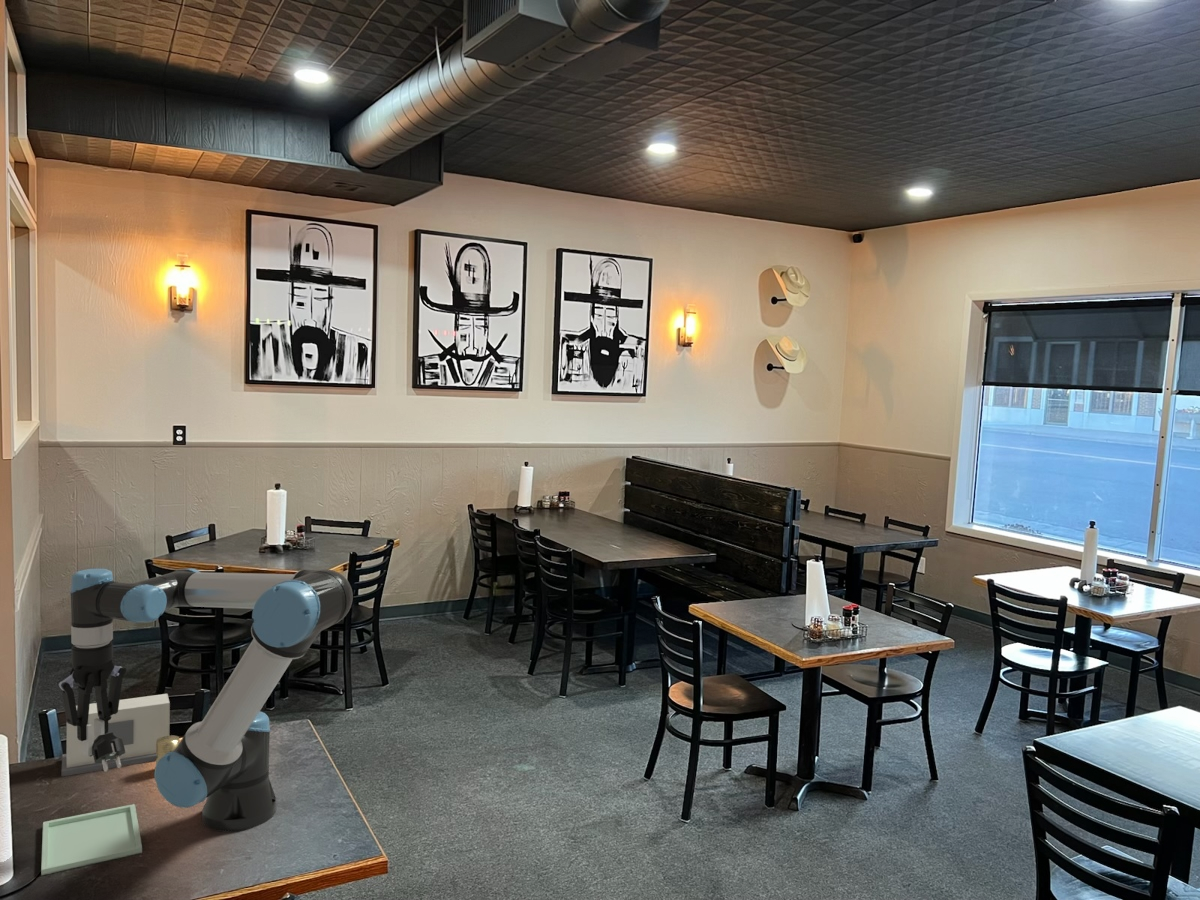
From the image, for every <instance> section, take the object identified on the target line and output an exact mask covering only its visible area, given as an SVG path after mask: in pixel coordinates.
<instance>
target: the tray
mask: <svg viewBox="0 0 1200 900" xmlns="http://www.w3.org/2000/svg"><path fill="white" fill-rule="evenodd" d="M41 843H42V844H41V865H40V866H41V870H40V872H41V875H40V876H42V877H43V876H46V875H51V874H53V873H59V872H63V871H67V870H72V869H73V870H74V869H77V868H81V867H85V866H89V865H94V864H99V863H104V862H107V861H108V862H109V861H112V860H116V859H121V858H125V857H130V856H134V855H138V854H142V853H143V844H142V838H141V833H140V826H139V820H138V813H137V808H136V803H135V804H134V803H133V804H129V805H128V804H127V805H122V806H119V807H113V808H108V809H101V810H98V811H93V812H87V813H82V814H77V815H76V814H75V815H72V816H67V817H63V818H62V817H61V818H56V819H51V820H47V821H43V823H42V842H41Z"/></svg>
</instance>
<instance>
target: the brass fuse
mask: <svg viewBox="0 0 1200 900" xmlns="http://www.w3.org/2000/svg"><path fill="white" fill-rule="evenodd" d="M179 743H180V736H178V735H172V734H171V735H170V734H169V736H164V737H161V738H159V739H157V741H156V761H155V765H156V764H157V763H158V761H159V760H160V759H161V758H162V757H163V756H164V755H165V754H167V753H168V752H172V751H173V750H174V749H175V748H176V747H177V746H178V745H179Z"/></svg>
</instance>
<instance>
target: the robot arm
mask: <svg viewBox="0 0 1200 900" xmlns="http://www.w3.org/2000/svg"><path fill="white" fill-rule="evenodd" d="M114 580H115V579H114V577H113V572H112V570H109V569H107V568H88V569H82V570H77V571H76V572H74V573H73V575H72V576H71V583H70V591H69V593H70V611H71V612H70V614H71V615H70V616H71V617H70V618H71V619H70V621H71V622H70V624H71V626H70V629H71V633H70V635H71V637H70V638H71V639H70V641H71V644H72V646H71V652H70V653H71V661H70V662H71V669H70V672H69V676H67V677H66V678H65V679H63V680H58V681H57V683H56V686H57V687H58V689H59V690H60V692H61V696H62V702H63V707H64V708H63V709H64V715H65V721H66V724H67V723H69V724H71V725H73V726H77V738H78V740H80V741H81V750H82V753H83V754H85V755H87V756H90V755H92V725H91V724H89V723H88V716H89V705H90V704H91V703H90V702H91V694H92V693H93V688H94V692H95V703H97V712H98V717H99V718H96V719H94V740H95V739H96V738H97V737H98V736H99V735H103V734H106V733H108V721H109V720H110V719H111V715H113V714H116V713H117V712H118V707H119V700H121V699H120V698H121V692H122V684H123V678H124V676H126V673H127V668H126V667H123V666H121V665H116V664H115V662H114V661H113V657H114V643H113V642H112V640H114V629H113V627H114V626H113V625H114V623H113V622H114V620H120V621H126V622H127V621H128V622H131V623H137V624H139V623H152V622H155V621H157V620H159V618H160V616H162V615H163V614H164V613H165V611H168V610H170V609H174V608H177V607H190V608H193V607H196V608H197V607H201V608H203V607H204V608H223V609H247V610H248V609H251V610H252V613H251V619H253V622H252V625H251V628H250V632H251V637H252V638H253V639H252V640H251V642H250V644H249V646H248V647H247V649H246V650H245V652H244V653H243V655H242V656H241V658H240V659H239V661H238V663H237V665H236V666H235V667H234V669H233V671H232V673H231V674H230V676H229V677H228V679H227V680H226V683H224V685H223V687H222V689H221V690H220V692H219V694H218V695H217V697H216V698H215V700H214V702H213V703H212V705H211V706H210V708H209V710H208V711H207V713H206V714H205V716H204V718H203V720H202V721H198V722H194V723H193V724H192V725H191V726H190V727H189V728H188V729H187V731H186V732H185V734H184V735H183V737H182V739H181V740H180V741H179V745H178V746H177V747H176V748H175V749H174V750H173V751H172V752H168V753H167V754H165V755H164V756H163V757H162V758H161V759H160V760H159V761H158V763H157V764H156V763H155V769H154V781H155V784H156V787H157V789H158V792H159V793H160V795H161V796H162V797H163V798H164V800H165V801H167V803H170V804H171V805H173V806H174V807H176V808H191V807H194V806H196V805H198V804H201V803H203V802H204V801H205V802H204V806H203V807H202V813H201V815H202V816H201V817H202V818H201V819H202V823H203V825H204V826H205V827H207V828H208V829H210V830H213V831H218V832H238V831H245V830H249V829H252V828H256V827H258V826H261V825H263V824H265V823H267V822H268V821H270V820H271V819H272V818H273V817H274V815H275V814H276V813H277V798H276V795H275V794H276V793H275V791H274V789H273V786H272V782H271V780H270V777H269V775H270V771H269V769H270V737H271V735H270V734H271V728H270V718H269V716H268V715H267V714H266V713H265V712H263V711H261V710H262V708H263V706H264V705H265V703H266V702H267V700H268V698H269V697H270V696H271V694H272V692H273V691H274V689H275V688H276V686H277V684H278V683H279V682H280V680H281V678H282V677H283V676H284V673H285V672H286V670H287V669H288V668H289V666H290V664H291V662H292V661H293V660H297V659H300V658H303V657H304V656H305V655H306V653H307V652H308V651H309V649H310V647H311V646H312V644H313V643H314V641H315V640H316V638H317V637H318V635H319V634H320V633H321V632H322V631H324V630H326V629H328V628H330V627H332V626H334V625H336V624H338V623H339V622H341V620H343V619H344V618H345V617H346V616H347V614H348V613H349V612H350V609H351V608H352V604H353V599H354V597H353V594H354V592H353V589H352V586H351V584H350V582H349V580H348V579H347V578H346V577H345V576H344V575H343V574H342V573H340V572H338V571H336V570H333V569H330V568H328V569H325V568H324V569H322V568H321V569H300V570H298V571H296V572H295V573H294V574H292V573H290V574H289V573H286V574H285V573H256V572H255V573H254V572H253V573H251V572H249V573H247V572H246V573H245V572H243V573H242V572H206V571H205V572H202V571H199V570H198V569H197V568H191V567H190V568H183V569H182V568H181V569H177V570H175V571H172V572H169V573H165V574H162V575H159V576H155V577H151V578H148V579H143V580H141V581H136V582H132V583H131V582H130V583H129V582H119V581H114ZM109 676H110V682H109V687H108V679H109ZM74 682H75V683H76V684H77V692H78V694H77V703H76V699H75V693H74V689H73V688H74ZM107 689H108V690H107ZM76 706H77V709H76Z"/></svg>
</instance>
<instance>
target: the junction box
mask: <svg viewBox="0 0 1200 900" xmlns="http://www.w3.org/2000/svg"><path fill="white" fill-rule="evenodd" d="M170 702H171V701H170V699H169V694H168V693H162V694H155V695H147V696H139V697H132V698H125V699H120V700H119V707H118V712H117V713H116V714H113V715H111V719H110V720H109V721H108V733H113V735H114V736H115V737H118V738H120V739H122V740H123V744H124V748H125V753H124V754H122V755H121V756H120V762H121V768H122V767H127V766H133V765H139V764H145V763H150V762H151V763H152V762H156V741H157V739H159V738H161V737H164V736H170V724H171V723H170V718H171V717H170V714H171V712H170V711H171V710H170V709H171V708H170V707H171V703H170ZM76 709H77V705H76ZM96 718H99V717H98V712H97V703H96V702H93V703H90V705H89V716H88V723H89V724H91V725H92V745H93V743H94V719H96ZM108 733H106V734H108ZM61 755H62V756H61V777H69V776H75V775H79V774H87V773H91V772H99V771H104V768H103V764H102V763H95V761H94V757H93V755H92V756H91V757H90V756H87V755H85V754H83V753H82V750H81V741H80V740H78V738H77V726H73V725H71V724H69V723H67V722H66V753H63V754H61ZM106 762H107V766H108V770H109V769H115V768H118V767H117V764H116V759H113V760H110V761H106Z"/></svg>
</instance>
